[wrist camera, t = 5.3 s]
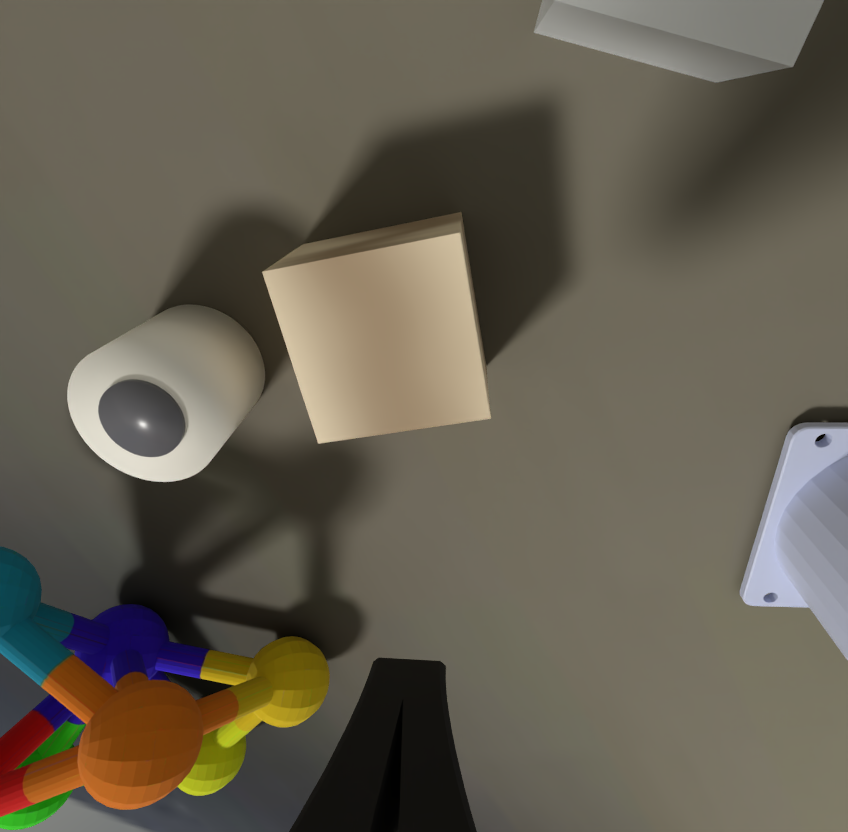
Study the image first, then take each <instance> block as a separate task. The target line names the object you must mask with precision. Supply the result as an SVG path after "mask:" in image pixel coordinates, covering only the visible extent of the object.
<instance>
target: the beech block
mask: <svg viewBox="0 0 848 832" xmlns="http://www.w3.org/2000/svg"><path fill="white" fill-rule="evenodd" d="M262 273H263V276H264V279H265V282H266V285H267V288H268V292H269V295H270V298H271V301H272V304H273V307H274V310H275V313H276V316H277V319H278V322H279V325H280V328H281V331H282V334H283V337H284V340H285V343H286V347H287V350H288V353H289V356H290V359H291V362H292V365H293V368H294V371H295V374H296V377H297V380H298V383H299V386H300V389H301V392H302V395H303V398H304V401H305V405H306V408H307V411H308V414H309V417H310V420H311V423H312V426H313V429H314V432H315V435H316V438H317V441H318V444H320V443H326V442H333V441H340V440H347V439H354V438H361V437H367V436H374V435H381V434H388V433H395V432H402V431H409V430H415V429H422V428H429V427H436V426H443V425H450V424H457V423H463V422H470V421H477V420H484V419H491V415H490V403H489V392H488V380H487V369H486V361H485V355H484V349H483V343H482V337H481V330H480V324H479V318H478V312H477V306H476V299H475V293H474V287H473V281H472V275H471V269H470V262H469V256H468V250H467V244H466V238H465V231H464V225H463V219H462V213H461V212H459V213H454V214H449V215H444V216H439V217H434V218H429V219H424V220H420V221H415V222H410V223H405V224H400V225H395V226H390V227H385V228H380V229H375V230H370V231H365V232H361V233H356V234H351V235H346V236H341V237H336V238H331V239H326V240H321V241H316V242H311V243H306V244H302V245H301V246H299V247H298V248H297V249H295V250H294V251H292V252H291V253H289V254H288V255H286V256H285V257H283V258H282V259H280V260H279V261H277V262H276V263H274V264H273V265H271V266H270V267H268V268H267V269H265V270H264V271H262Z"/></svg>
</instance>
